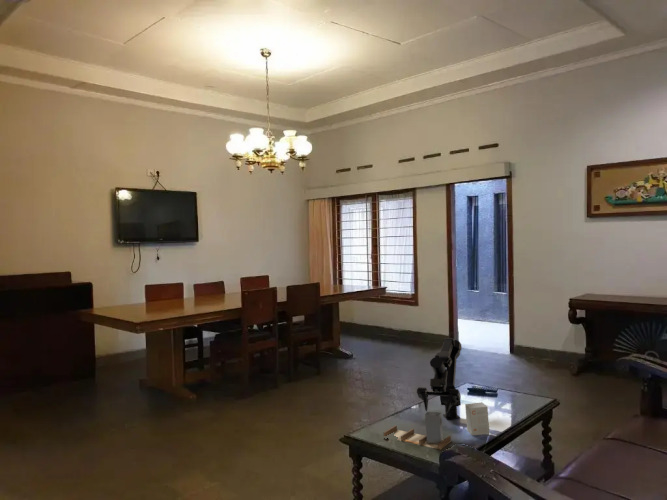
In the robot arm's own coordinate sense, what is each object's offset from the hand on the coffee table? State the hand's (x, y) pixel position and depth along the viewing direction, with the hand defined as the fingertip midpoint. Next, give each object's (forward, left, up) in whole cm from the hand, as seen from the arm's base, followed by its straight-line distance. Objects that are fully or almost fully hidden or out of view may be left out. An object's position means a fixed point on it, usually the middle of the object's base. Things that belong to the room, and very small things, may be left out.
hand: (436, 411), depth 224 cm
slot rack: (-1, -9, -12) cm, 16 cm away
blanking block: (+5, -3, -11) cm, 13 cm away
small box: (-1, +19, -13) cm, 23 cm away
